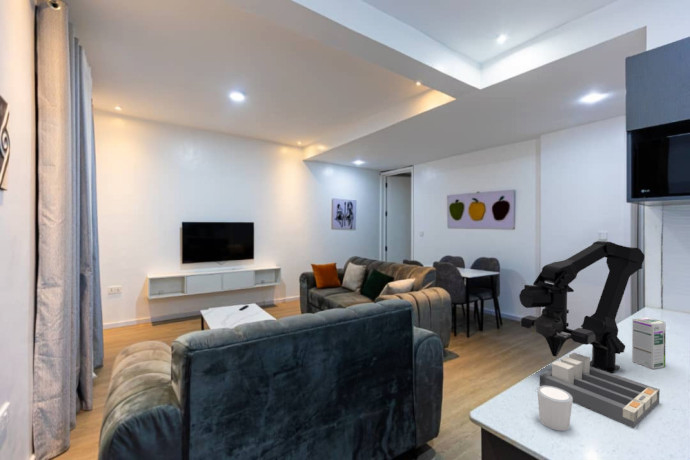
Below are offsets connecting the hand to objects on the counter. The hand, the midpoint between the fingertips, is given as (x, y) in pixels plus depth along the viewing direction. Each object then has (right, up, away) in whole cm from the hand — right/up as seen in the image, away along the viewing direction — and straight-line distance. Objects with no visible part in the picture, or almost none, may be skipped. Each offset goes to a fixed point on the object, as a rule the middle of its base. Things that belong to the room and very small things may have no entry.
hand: (554, 356), depth 96 cm
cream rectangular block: (-5, -3, -11) cm, 12 cm away
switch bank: (+2, -5, -13) cm, 14 cm away
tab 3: (+3, -3, -5) cm, 7 cm away
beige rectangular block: (-1, -3, -8) cm, 9 cm away
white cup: (-17, -6, -24) cm, 30 cm away
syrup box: (+33, -5, +4) cm, 33 cm away
